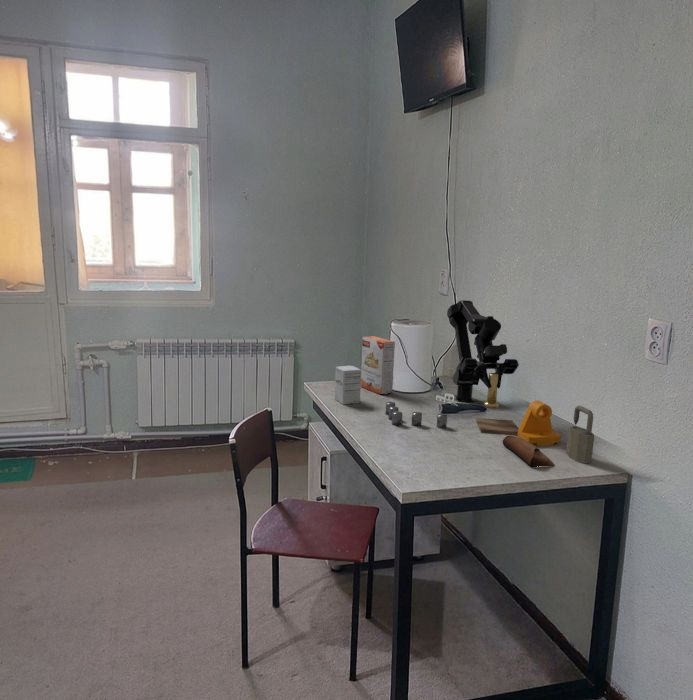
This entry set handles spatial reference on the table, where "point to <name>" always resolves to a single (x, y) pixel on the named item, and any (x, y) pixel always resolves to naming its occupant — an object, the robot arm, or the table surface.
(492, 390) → the brass pin
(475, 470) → the table surface
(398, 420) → the cylinder
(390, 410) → the dark grey domed cylinder
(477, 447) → the table surface
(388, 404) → the dark grey domed cylinder
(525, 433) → the bracket
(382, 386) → the cracker box
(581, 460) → the padlock
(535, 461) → the sunglasses case
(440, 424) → the cylinder
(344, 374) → the supplement box
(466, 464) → the table surface
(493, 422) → the board
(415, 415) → the dark gray domed cylinder
